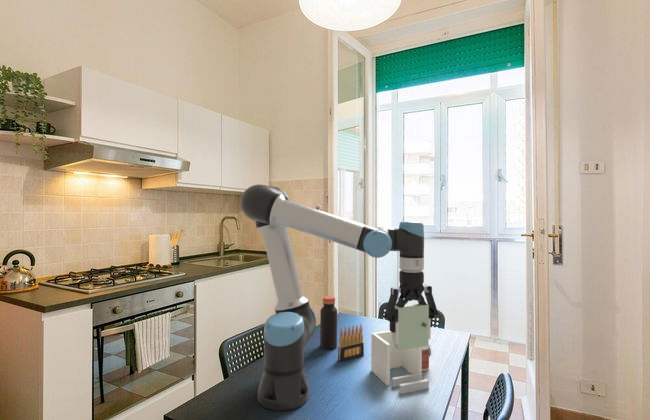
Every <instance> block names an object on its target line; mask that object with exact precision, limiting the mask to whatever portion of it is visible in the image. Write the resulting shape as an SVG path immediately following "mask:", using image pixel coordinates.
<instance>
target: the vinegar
mask: <svg viewBox="0 0 650 420" xmlns="http://www.w3.org/2000/svg"><path fill="white" fill-rule="evenodd" d="M335 304H336V296H333V295H326V296H322V305H323V306H322V307H321V308H320V317H319V320H320V321H319V323H320V324H319V327H320V328H319V329H320V334H319V335H320V337H319V339H320V340H319V343H320V344H319V347H320V348H321V349H323V350H327V351H328V350H334V349H336V348H337V346H338V308H336V306H335Z"/></svg>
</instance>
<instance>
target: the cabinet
mask: <svg viewBox="0 0 650 420" xmlns="http://www.w3.org/2000/svg"><path fill="white" fill-rule="evenodd" d="M370 343H371V348H370V349H371V350H370V351H371V354H370V355H371V361H370V371H371V372H372V373H373V374H374V375H375V376H376V377H377V378H378V379H379V380H381V382H382V383H383V384H385V386H390V384H391V386H392V387H393V388H396V387H399V388H398V393H399V394H401V395H404V394H409V393H413V392H419V391H425V390H428V389H430V388H429V387H430V383H429V382H430V381H429V380H428V379H427V378H426V379H422V378H423V377H422V375H423V374H422V372H423V371H422V347H417V348H411V349H405V350H397V349H396V348H394V342H393V341H392V332H391V331H390V330H385V331H379V332H378V331H377V332H371V342H370ZM397 368H404V369H405V370H406V371H407V372H409V373H410V374H406V375H401V376H395V377H391V369H397ZM390 382H391V383H390Z"/></svg>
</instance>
